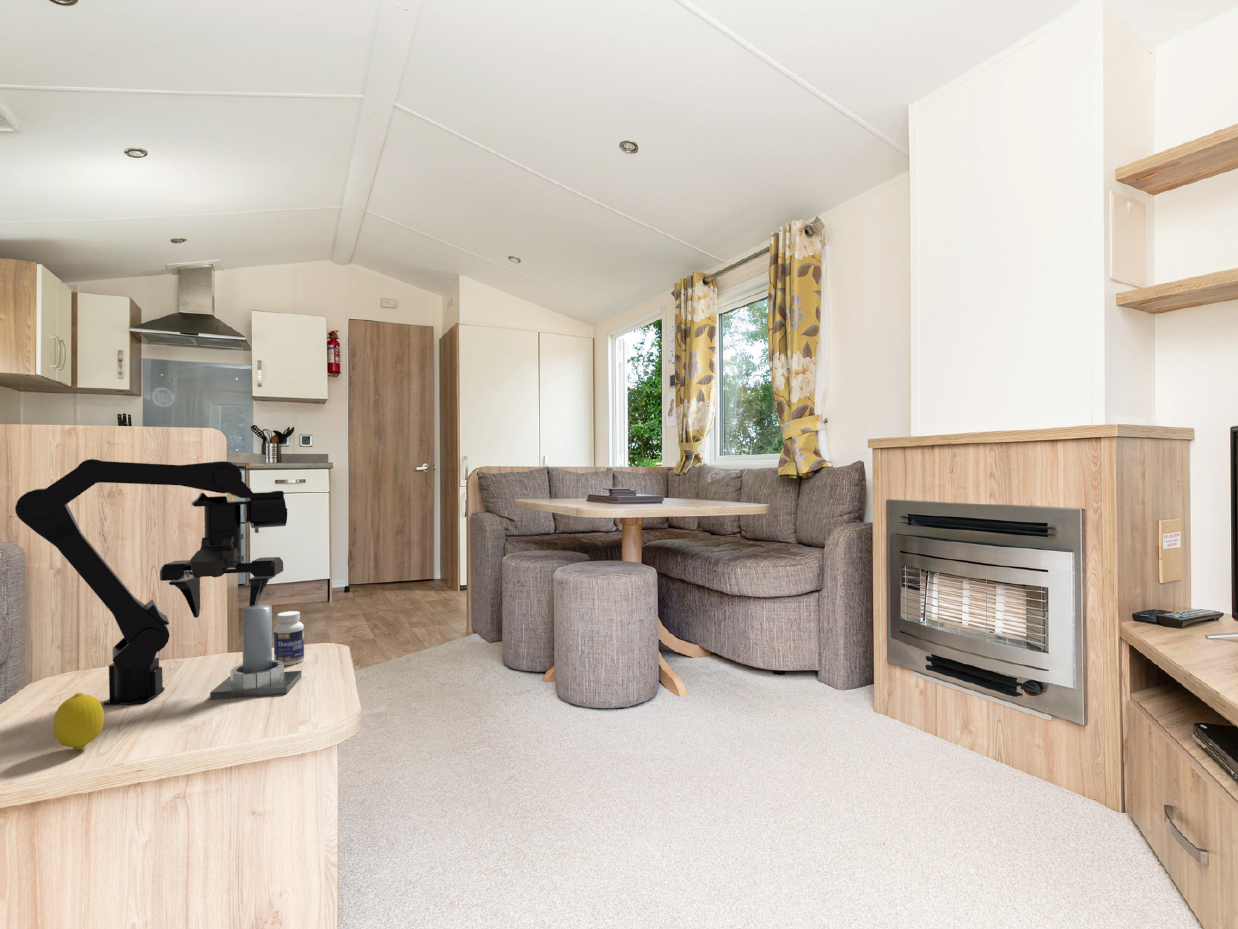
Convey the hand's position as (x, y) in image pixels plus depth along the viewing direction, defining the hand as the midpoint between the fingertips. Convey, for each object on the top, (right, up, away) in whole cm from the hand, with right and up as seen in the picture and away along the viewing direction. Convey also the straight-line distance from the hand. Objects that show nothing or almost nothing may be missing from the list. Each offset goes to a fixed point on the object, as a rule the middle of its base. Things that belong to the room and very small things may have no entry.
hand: (224, 615), depth 121 cm
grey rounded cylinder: (+8, -11, -4) cm, 14 cm away
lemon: (-4, -13, -28) cm, 31 cm away
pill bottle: (+6, -12, +11) cm, 18 cm away
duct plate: (+8, -12, -3) cm, 15 cm away
